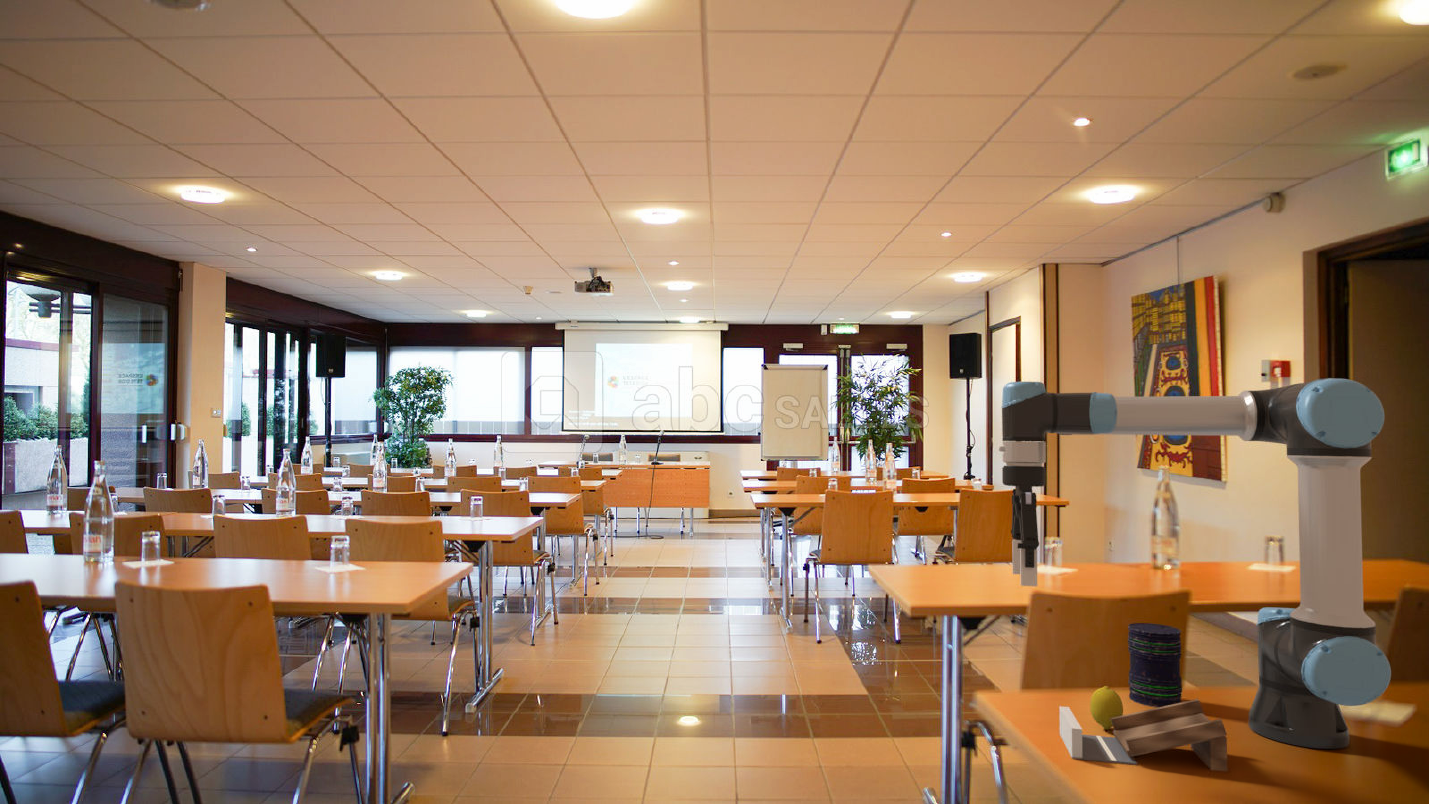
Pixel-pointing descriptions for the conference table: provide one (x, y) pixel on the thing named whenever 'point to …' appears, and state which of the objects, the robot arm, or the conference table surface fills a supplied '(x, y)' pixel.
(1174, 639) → the dark blue upright cylinder
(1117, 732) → the ramp
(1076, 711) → the conference table surface
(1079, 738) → the rail
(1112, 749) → the lane mat
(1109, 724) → the lemon
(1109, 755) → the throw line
